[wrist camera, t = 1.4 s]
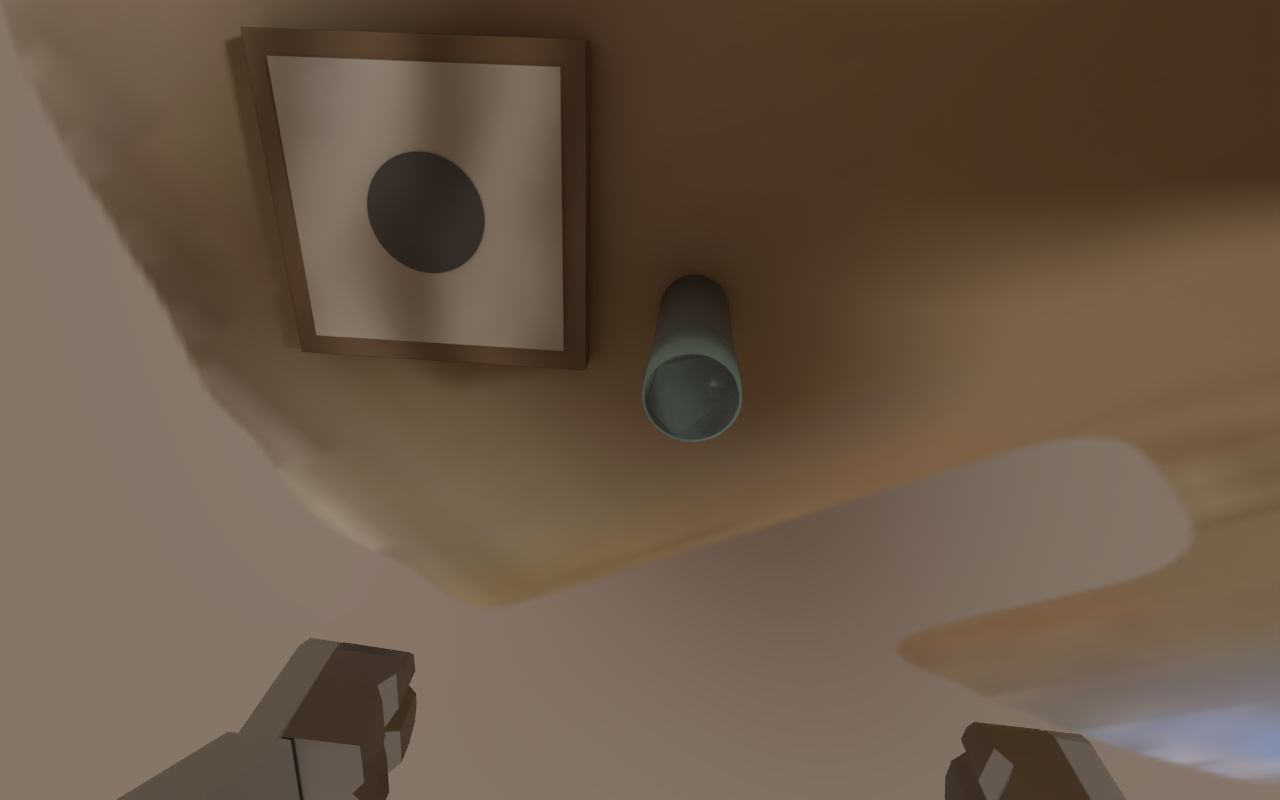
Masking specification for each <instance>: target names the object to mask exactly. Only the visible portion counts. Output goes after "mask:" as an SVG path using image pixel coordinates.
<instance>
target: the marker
mask: <svg viewBox="0 0 1280 800" xmlns="http://www.w3.org/2000/svg"><path fill="white" fill-rule="evenodd" d="M642 404H643V408H644V411H645V414H646V416H647V418H648V419H649V421H650V422H651V423H652V424H653V426H654V427H655V428H656V429H658V430H659V431H660V432H661V433H663V434H664V435H666V436H668V437H670V438H673V439H675V440H679V441H684V442H701V441H706V440H709V439H712V438H714V437H716V436H719V435H720V434H722V433H723V432H725V431H726V430H727V429H728V428H729V427H730V426H731V425H732V424H733V423H734V421H735V420H736V418H737V416H738V414H739V412H740V409H741V405H742V387H741V380H740V372H739V364H738V360H737V356H736V354H735V352H734V346H733V338H732V330H731V322H730V314H729V305H728V300H727V297H726V294H725V292H724V291H723V289H722V288H721V287H720V286H719V285H718V284H717V283H716V282H715V281H713V280H711V279H710V278H707V277H704V276H699V275H691V276H686V277H682V278H680V279H678V280H676V281H675V282H673V283H672V284H671V285H670V286H669V287H668V288H667V290H666V291H665V293H664V295H663V297H662V301H661V305H660V311H659V316H658V322H657V327H656V333H655V338H654V344H653V349H652V351H651V353H650V355H649V358H648V362H647V367H646V372H645V378H644V383H643V388H642Z"/></svg>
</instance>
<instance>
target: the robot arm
mask: <svg viewBox="0 0 1280 800" xmlns="http://www.w3.org/2000/svg"><path fill="white" fill-rule="evenodd" d="M414 673H415V664H414V655H413V654H411V653H409V652H403V651H397V650H390V649H384V648H377V647H370V646H364V645H357V644H350V643H341V642H334V641H327V640H320V639H314V638H309V639H308V640H306V641H305V642H304V643H302V644H301V645H300V646H299V647H298V648H297V650H296V651H295V653H294V654H293V656H292V657H291V658H290V660H289V661H288V663H287V664H286V666H285V667H284V668H283V670H282V672H281V673H280V674H279V676H278V677H277V679H276V680H275V681H274V683H273V684H272V686H271V687H270V689H269V690H268V692H267V693H266V694H265V696H264V697H263V699H262V700H261V702H260V703H259V705H258V706H257V707H256V709H255V710H254V712H253V713H252V715H251V716H250V717H249V719H248V720H247V722H246V723H245V725H244V726H243V728H242V729H241V731H240V732H239V733H235V732H227V733H225V734H224V735H222V736H220V737H219V738H217V739H215V740H214V741H212V742H211V743H209V744H207V745H205V746H204V747H202V748H201V749H199V750H197V751H196V752H194V753H192V754H191V755H189V756H187V757H186V758H184V759H182V760H181V761H179V762H178V763H176V764H174V765H173V766H171V767H169V768H168V769H166V770H165V771H163V772H161V773H160V774H158V775H156V776H155V777H153V778H151V779H150V780H148V781H146V782H145V783H143V784H141V785H140V786H138V787H136V788H135V789H133V790H132V791H130V792H128V793H127V794H125V795H123V796H122V797H120V798H118V799H117V800H386V798H387V796H388V793H389V782H388V772H390V771H391V770H392V769H394V768H395V767H396V766H397V765H399V764H400V763H401V762H402V760H403V758H404V755H405V753H406V750H407V748H408V745H409V742H410V738H411V734H412V731H413V727H414V723H415V715H416V693H415V692H414V691H413V689H412V688H411V687H410V686H409V684H410V682H411V680H412V677H413V675H414ZM961 741H962V743H963V746H964V748H965V750H966V752H965V753H963V754H962V755H960V756H958V757H957V758H955V759H953V760H952V761H951V764H950V766H949V769H948V771H947V774H946V777H945V800H1126V798H1125V797H1124V795H1123V794H1122V792H1121V791H1120V789H1119V787H1118V786H1117V785H1116V783H1115V781H1114V780H1113V778H1112V777H1111V775H1110V773H1109V772H1108V770H1107V768H1106V767H1105V765H1104V764H1103V762H1102V760H1101V759H1100V757H1099V756H1098V754H1097V753H1096V751H1095V750H1094V748H1093V746H1092V745H1091V743H1090V742H1089V741H1088V740H1087V739H1085V738H1084V737H1083V736H1082V735H1080V734H1072V733H1063V732H1055V731H1047V730H1044V731H1041V730H1039V729H1032V728H1023V727H1014V726H1005V725H996V724H987V723H979V722H973V723H972V724H971V725H969V726H968V727H967V728H966V730H965V732H964V734H963V736H962V738H961Z"/></svg>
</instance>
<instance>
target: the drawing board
mask: <svg viewBox="0 0 1280 800" xmlns="http://www.w3.org/2000/svg"><path fill="white" fill-rule="evenodd" d="M241 32H242V37H243V43H244V48H245V53H246V58H247V64H248V69H249V74H250V80H251V85H252V90H253V95H254V101H255V106H256V111H257V116H258V122H259V127H260V132H261V137H262V143H263V148H264V153H265V159H266V164H267V169H268V174H269V180H270V185H271V190H272V195H273V201H274V206H275V211H276V216H277V222H278V227H279V232H280V238H281V243H282V248H283V253H284V259H285V264H286V269H287V274H288V280H289V285H290V290H291V295H292V301H293V306H294V311H295V316H296V322H297V327H298V332H299V338H300V343H301V348H302V352H312V353H327V354H343V355H358V356H373V357H389V358H404V359H419V360H435V361H450V362H465V363H481V364H496V365H511V366H527V367H542V368H557V369H573V370H586V367H587V365H588V362H589V217H590V41H588V40H584V39H557V38H529V37H502V36H475V35H447V34H420V33H393V32H366V31H338V30H311V29H284V28H257V27H241Z"/></svg>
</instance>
